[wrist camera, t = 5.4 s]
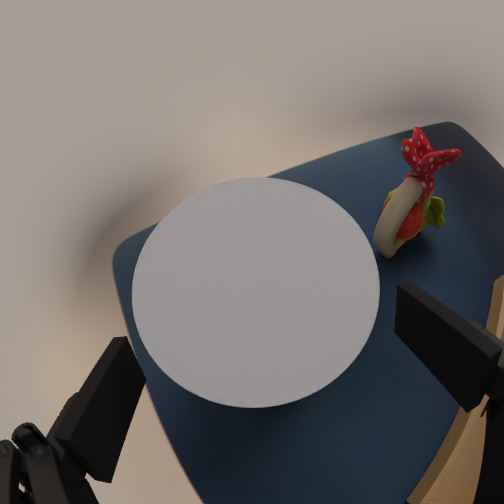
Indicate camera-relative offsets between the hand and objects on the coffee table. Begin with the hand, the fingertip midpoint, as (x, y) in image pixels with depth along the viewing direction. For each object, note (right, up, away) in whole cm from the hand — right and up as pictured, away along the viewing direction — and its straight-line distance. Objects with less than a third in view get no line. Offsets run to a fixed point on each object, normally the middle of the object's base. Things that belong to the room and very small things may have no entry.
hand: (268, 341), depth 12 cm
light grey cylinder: (0, -3, +7) cm, 8 cm away
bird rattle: (+12, +5, +11) cm, 17 cm away
